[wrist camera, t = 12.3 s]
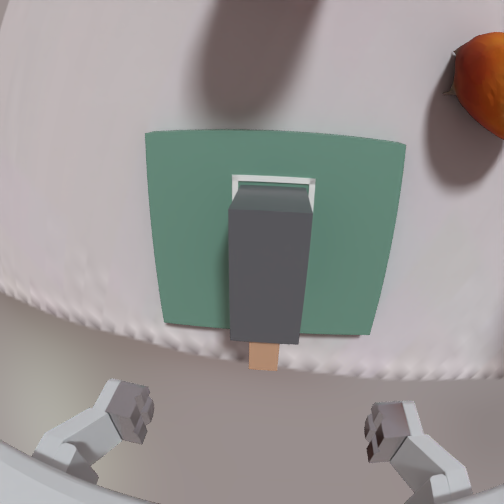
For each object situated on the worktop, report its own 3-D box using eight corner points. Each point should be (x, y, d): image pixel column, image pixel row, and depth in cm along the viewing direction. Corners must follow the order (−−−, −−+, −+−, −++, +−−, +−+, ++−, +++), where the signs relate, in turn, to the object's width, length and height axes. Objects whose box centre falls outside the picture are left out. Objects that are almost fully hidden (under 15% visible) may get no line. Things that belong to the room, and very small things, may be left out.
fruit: (425, 12, 15) (526, 16, 9) (473, 47, 18) (552, 60, 12) (420, 115, 19) (523, 143, 12) (467, 131, 22) (546, 157, 15)
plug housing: (305, 187, 22) (312, 213, 17) (292, 328, 27) (293, 375, 22) (240, 184, 22) (228, 209, 17) (240, 325, 27) (231, 371, 22)
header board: (398, 142, 21) (430, 154, 16) (366, 324, 28) (379, 366, 23) (152, 131, 22) (119, 140, 17) (169, 312, 29) (149, 352, 24)
